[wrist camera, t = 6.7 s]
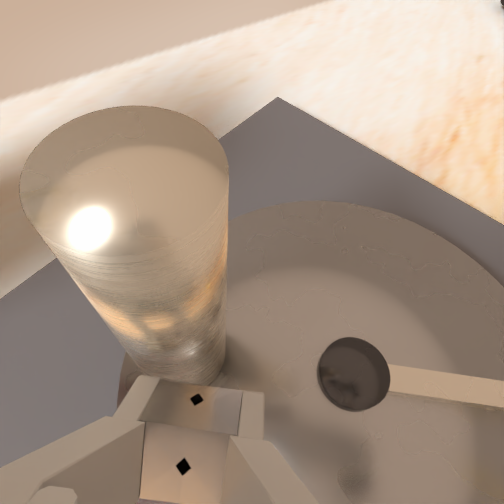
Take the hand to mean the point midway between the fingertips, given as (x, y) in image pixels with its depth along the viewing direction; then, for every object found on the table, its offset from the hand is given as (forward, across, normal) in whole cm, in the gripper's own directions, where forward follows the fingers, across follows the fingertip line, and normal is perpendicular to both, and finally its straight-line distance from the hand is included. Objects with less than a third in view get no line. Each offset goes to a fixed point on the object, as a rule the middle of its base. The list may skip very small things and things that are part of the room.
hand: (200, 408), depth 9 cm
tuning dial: (+5, -6, +2) cm, 8 cm away
